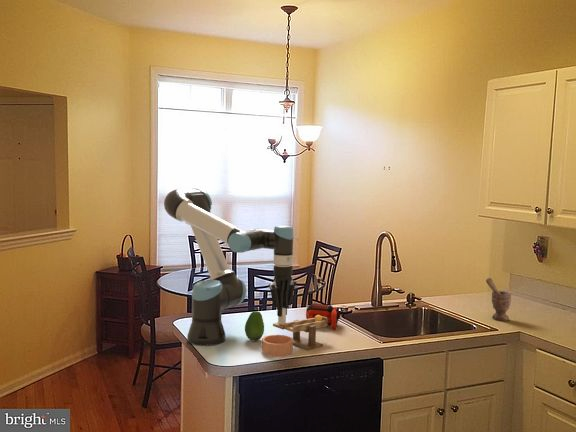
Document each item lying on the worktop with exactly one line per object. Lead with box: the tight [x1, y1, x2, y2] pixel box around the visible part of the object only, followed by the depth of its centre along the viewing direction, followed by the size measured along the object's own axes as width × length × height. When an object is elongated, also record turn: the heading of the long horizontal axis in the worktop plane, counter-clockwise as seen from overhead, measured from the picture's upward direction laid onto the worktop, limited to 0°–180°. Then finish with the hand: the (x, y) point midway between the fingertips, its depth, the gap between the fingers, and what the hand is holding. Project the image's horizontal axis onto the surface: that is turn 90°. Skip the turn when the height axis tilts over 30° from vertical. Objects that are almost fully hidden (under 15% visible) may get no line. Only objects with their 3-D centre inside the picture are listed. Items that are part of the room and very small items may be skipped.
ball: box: [314, 315, 322, 322], centre depth 217 cm, size 3×3×3 cm
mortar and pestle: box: [485, 277, 512, 322], centre depth 256 cm, size 12×9×20 cm
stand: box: [291, 319, 324, 351], centre depth 212 cm, size 8×13×8 cm, turn 41°
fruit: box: [244, 310, 265, 342], centre depth 215 cm, size 8×8×12 cm
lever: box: [272, 315, 328, 333], centre depth 214 cm, size 19×12×4 cm, turn 131°
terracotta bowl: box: [261, 334, 294, 357], centre depth 203 cm, size 12×12×4 cm
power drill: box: [305, 303, 341, 330], centre depth 240 cm, size 15×9×15 cm
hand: (281, 323), depth 211 cm, fingers closed
